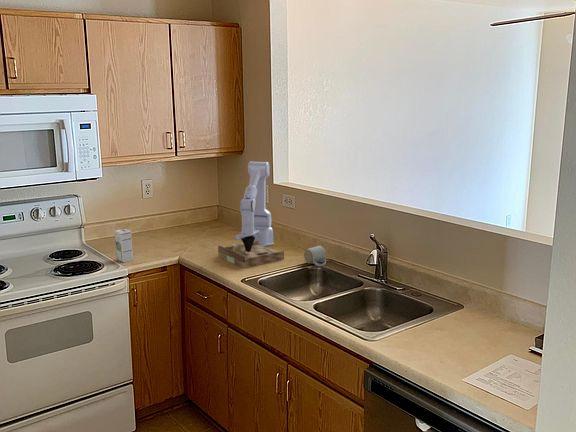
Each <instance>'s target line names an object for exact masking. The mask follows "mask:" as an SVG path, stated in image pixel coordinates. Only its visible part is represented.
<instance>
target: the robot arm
mask: <svg viewBox="0 0 576 432" xmlns="http://www.w3.org/2000/svg"><path fill="white" fill-rule="evenodd" d="M247 172H248V175H249V176H250V177H249V181H248V185H247V186H246V187H245V189H244V194H243V198H242V199H240V202H239V210H240V215H241V231H240V233H238V234H236V235H235V238H234V239H235V240H237V241H242V243H243V244H244V246H245V249H246V251H247V252H251V248H252V244H253V242H255V241H258V244H259V245H262V246H265V247H267V246H272V245H275V243H274V230H273V228H272V227H271V226H272V224H273V223H272V222H273V221H272V213H271V212H270V211H269V210H268V209H266V207H267V204H266V203H267V202H266V201H267V200H266V197H267V194H266V193H267V192H266V191H267V189H266V187H267V186H266V184H267V182H266V180H267V178H269V177H270V173H271V172H270V163H269V162H268V161H249V162H248V164H247Z"/></svg>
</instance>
